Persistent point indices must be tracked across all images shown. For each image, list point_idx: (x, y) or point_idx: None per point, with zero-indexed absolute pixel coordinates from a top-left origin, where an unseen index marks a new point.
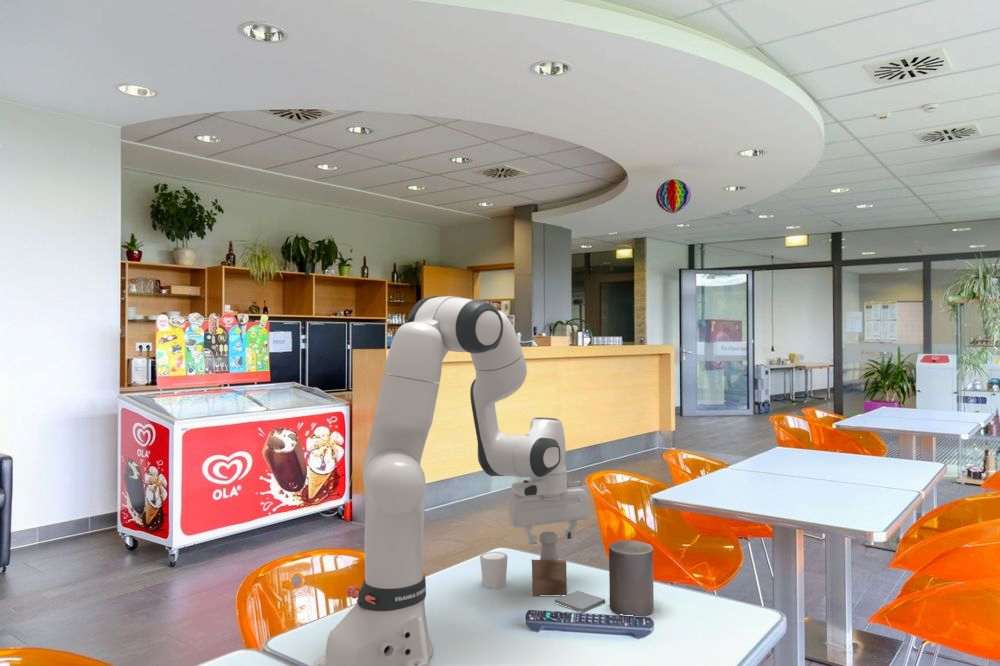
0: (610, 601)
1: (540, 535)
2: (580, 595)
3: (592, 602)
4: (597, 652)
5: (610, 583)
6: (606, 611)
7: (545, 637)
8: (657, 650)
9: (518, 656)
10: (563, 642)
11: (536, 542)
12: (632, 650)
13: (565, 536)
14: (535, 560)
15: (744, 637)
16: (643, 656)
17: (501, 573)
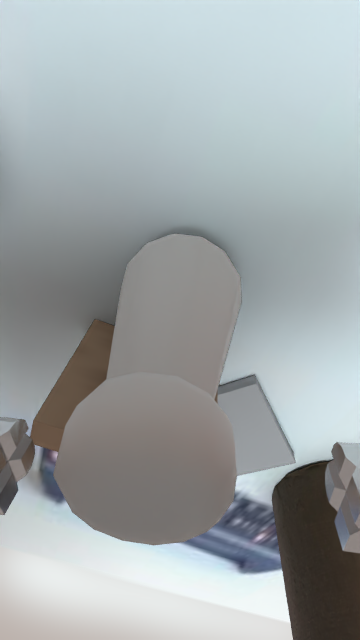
0: (277, 513)
1: (56, 480)
2: (240, 418)
3: (245, 466)
4: (145, 576)
5: (287, 574)
6: (260, 488)
7: (70, 522)
8: (244, 599)
9: (10, 547)
10: (99, 543)
11: (29, 465)
12: (205, 588)
13: (338, 467)
14: (52, 435)
15: None
16: (210, 600)
17: None
